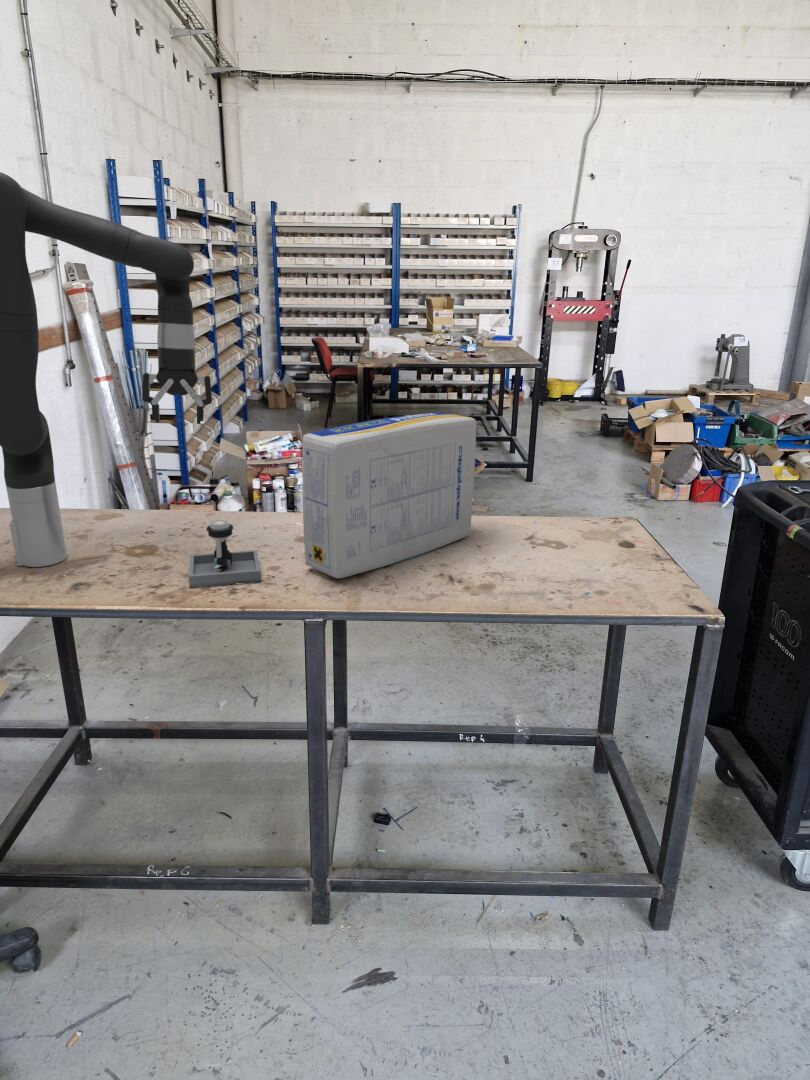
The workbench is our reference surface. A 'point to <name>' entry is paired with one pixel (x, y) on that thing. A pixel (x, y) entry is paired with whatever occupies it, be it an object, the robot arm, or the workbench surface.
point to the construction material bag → (386, 490)
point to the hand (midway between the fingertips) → (178, 422)
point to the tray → (239, 572)
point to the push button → (221, 543)
